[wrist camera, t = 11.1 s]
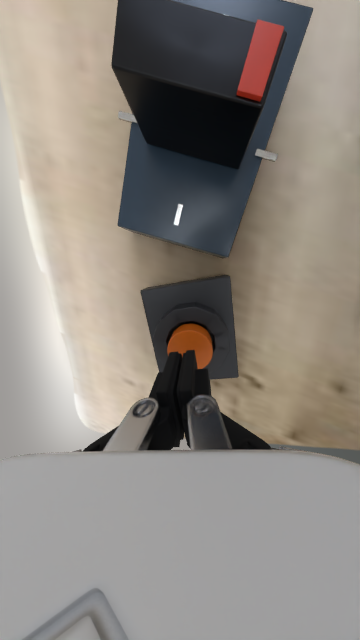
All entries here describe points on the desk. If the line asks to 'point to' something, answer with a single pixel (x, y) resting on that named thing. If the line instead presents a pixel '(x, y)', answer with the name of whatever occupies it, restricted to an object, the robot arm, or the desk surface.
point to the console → (201, 175)
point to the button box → (194, 319)
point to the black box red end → (195, 76)
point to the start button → (192, 343)
